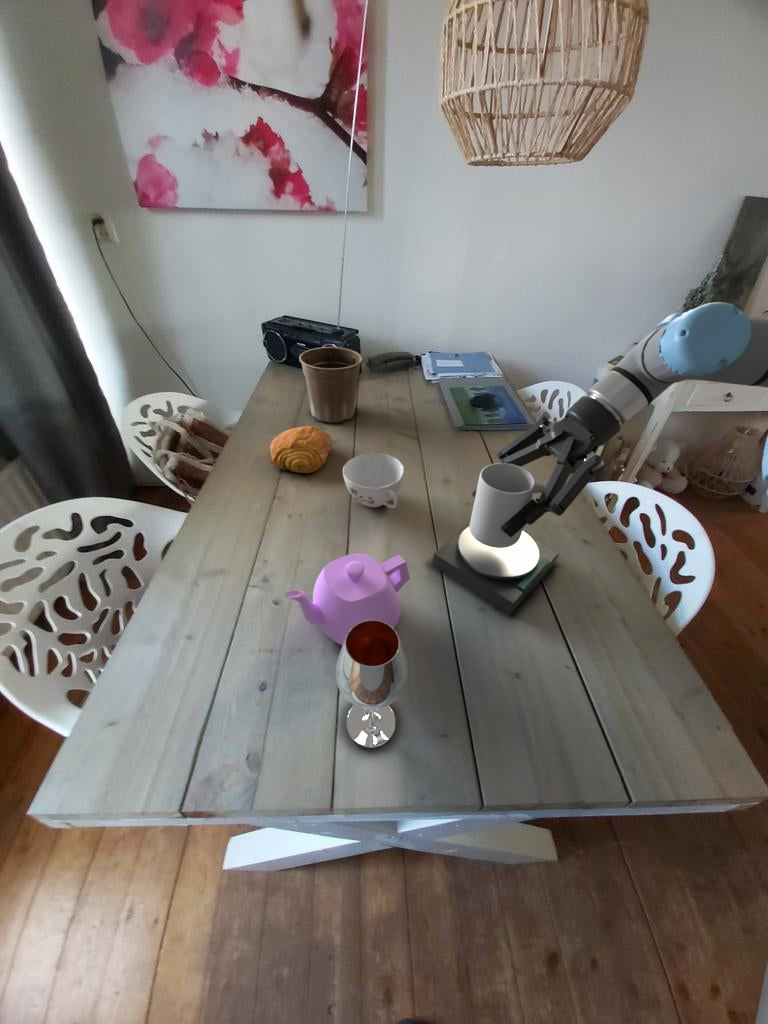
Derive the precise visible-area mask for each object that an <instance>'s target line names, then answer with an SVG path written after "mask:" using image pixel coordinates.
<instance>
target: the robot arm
mask: <svg viewBox="0 0 768 1024" xmlns="http://www.w3.org/2000/svg"><path fill="white" fill-rule="evenodd" d="M686 380H696V381H704V382H712V383H721V384H731V385H740V386H748V387H760V388H768V317H761V316H749V315H747V314H746V313H745V311H743V310H741V309H740V308H738V307H737V306H735V305H734V304H732V303H729V302H722V301H715V302H708V303H704V304H702V305H700V306H697V307H695V308H692V309H689V310H687V311H686V312H683V313H679V312H677V313H676V312H675V313H672V314H670V315H668V316H666V318H664V319H663V320H662V321H661V322H660V323H658V324H657V325H656V326H655V327H652V328H651V329H650V330H649V331H648V333H647V335H645V337H643V338H642V339H641V340H640V341H639V342H638V343H637V344H636V345H635V346H634V347H633V348H632V349H630V351H629V352H628V353H627V354H626V355H625V356H623V358H621V360H620V361H619V362H618V363H617V364H615V366H613V367H612V368H611V369H610V370H608V371H607V372H606V374H604V375H603V376H602V377H601V378H600V379H599V380H598V381H597V382H595V383H594V384H593V385H592V386H591V387H590V388H589V389H588V390H587V395H582V396H581V397H580V398H579V399H578V400H576V401H575V403H574V404H572V405H571V406H570V407H569V408H568V409H567V410H566V412H565V415H564V417H563V418H562V419H560V420H558V421H556V422H553V420H550V419H549V418H548V417H547V416H546V415H541V416H540V417H539V418H538V419H537V421H536V422H535V423H534V425H532V426H531V427H529V428H528V429H527V430H525V431H524V432H523V433H522V434H520V435H519V436H517V437H516V438H514V439H513V440H511V441H510V442H509V443H508V444H506V445H505V446H503V447H502V448H501V449H499V450H498V451H497V452H496V453H495V456H496V457H497V460H498V463H507V464H513V465H516V466H519V467H521V468H522V467H523V466H525V465H527V464H530V463H532V462H534V461H537V460H539V459H541V458H543V457H550V456H553V457H555V458H557V459H556V465H555V467H554V469H553V471H552V473H551V475H550V477H549V479H548V481H547V482H546V484H545V485H546V486H545V488H544V490H543V492H542V493H540V496H539V498H538V497H536V498H535V499H534V498H532V499H531V501H530V502H529V503H527V504H526V505H525V506H524V507H523V508H522V509H521V510H520V511H519V512H518V513H516V514H515V515H514V516H513V517H512V518H511V519H510V520H509V521H508V522H506V523H505V524H504V525H503V526H502V527H501V529H502V531H503V532H505V533H506V534H507V535H508V536H510V537H512V536H514V535H515V534H516V533H517V532H518V531H519V530H520V529H521V528H523V529H524V527H525V526H526V525H527V524H528V526H531V525H533V524H534V523H536V522H537V521H538V520H539V519H540V518H541V517H542V516H543V515H545V514H546V513H552V514H555V515H556V516H558V517H560V516H562V515H563V514H564V513H565V512H566V511H567V509H568V508H569V507H570V506H571V504H573V502H574V501H575V499H577V497H578V496H579V494H580V493H582V491H583V490H584V488H586V487H587V485H588V484H589V482H590V481H591V480H592V479H593V477H595V476H596V475H598V474H599V473H601V472H602V471H603V470H605V469H606V463H605V462H604V460H603V459H602V457H601V456H600V455H599V454H596V453H597V450H598V449H599V447H603V446H605V445H606V444H607V443H608V442H609V441H611V440H612V439H613V438H614V437H615V436H616V435H617V434H619V432H620V431H621V426H627V425H628V424H629V423H630V422H631V421H633V420H634V419H635V418H636V417H637V416H638V415H639V414H640V413H641V412H643V411H644V410H645V409H646V408H647V407H648V406H649V405H650V404H652V402H653V401H654V400H656V399H657V398H658V397H659V396H660V395H661V394H663V393H664V392H665V391H666V390H668V389H669V388H670V387H671V386H672V385H674V384H676V383H681V382H684V381H686ZM580 461H583V463H582V464H581V465H579V467H578V468H577V469H576V467H577V465H578V463H579V462H580ZM575 469H576V471H575ZM574 471H575V472H574ZM573 472H574V473H573ZM571 473H572V475H571ZM761 474H762V480H763V482H764V484H765V485H767V486H768V435H767V437H766V441H765V444H764V448H763V454H762V461H761ZM570 475H571V477H570V478H569V476H570ZM476 491H477V488H476V489H475V490H473V492H472V493H471V495H472V496H473V497H474V498H475V496H476ZM766 495H767V496H768V488H767V490H766ZM763 977H764V978H763V983H762V988H761V993H760V998H759V1003H758V1007H757V1013H756V1018H755V1024H768V960H767V962H766V967H765V973H764V976H763Z"/></svg>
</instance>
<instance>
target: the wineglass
mask: <svg viewBox="0 0 768 1024" xmlns="http://www.w3.org/2000/svg"><path fill="white" fill-rule="evenodd" d="M334 672H335V682H336V684H337V687H338V690H339V691H340V693H341V695H342V696H343V697H344V698H345V700H346V701H347V702H349V703H350V704H352V707H351V709H350V710H349V711H348V714H347V717H346V729H347V732H348V734H349V737H350V738H351V740H353V741H354V742H355V743H356V744H357V745H359V746H360V747H363V748H369V749H373V748H375V749H376V748H378V747H381V746H383V745H385V744H386V743H388V742H389V741H390V739H391V738H392V737H393V735H394V732H395V729H396V725H397V724H396V723H397V722H396V716H395V713H394V711H393V709H392V708H391V707H390V705H392V704H393V703H395V702H396V701H397V700H398V699H399V698H400V697H401V695H402V694H403V692H404V690H405V688H406V686H407V683H408V679H409V664H408V659H407V656H406V653H405V650H404V647H403V645H402V641H401V639H400V637H399V635H398V633H397V631H396V630H395V628H392V627H391V626H390V625H389V624H387V623H385V622H382V621H378V620H366V621H363V622H360V623H358V624H356V625H355V626H354V627H352V628H351V629H350V631H349V632H348V634H347V636H346V638H345V641H344V643H343V645H341V648H340V651H339V653H338V656H337V659H336V663H335V671H334Z"/></svg>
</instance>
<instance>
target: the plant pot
mask: <svg viewBox="0 0 768 1024" xmlns="http://www.w3.org/2000/svg"><path fill="white" fill-rule="evenodd" d="M298 358H299V363H301V366H302V373H303V375H304V377H305V383H306V389H307V395H308V401H309V408H310V414H311V416H312V418H315V419H316V420H317V421H319V422H323V423H327V424H328V423H330V424H334V423H335V424H337V423H342V422H344V421H345V420H347V421H348V420H350V419H352V418H353V416H354V415H355V410H356V409H355V407H356V396H357V386H358V378H359V377H358V376H359V374H360V369H361V363H362V362H363V356H362V354H361V353H359V352H358V351H356V350H353V349H350V348H345V347H337V346H323V347H322V346H321V347H316V348H311V349H308V350H306V351H304V352H302V353H301V354H300V355H299V357H298Z"/></svg>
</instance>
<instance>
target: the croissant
mask: <svg viewBox="0 0 768 1024" xmlns="http://www.w3.org/2000/svg"><path fill="white" fill-rule="evenodd" d="M331 438H332V437H331V436H330V434H329V433H328V432H326V431H324V430H323V429H320V428H318V427H316V426H313V425H305V426H299V427H293V428H290V429H287V430H284V431H283V432H281V433H279V434H278V435H277V436H275V437H274V438H273V439H272V440H271V442H270V446H269V450H270V452H269V453H270V455H271V456H270V457H271V461H272V463H274V465H275V466H276V467H277V468H278V469H282V470H283V471H288V470H289V471H291V472H294V473H301V474H310V473H314V472H316V471H318V470H319V469H320V468H321V467H322V466H323V465H324V464H325V463H326V460H327V458H328V456H329V453H330V452H331V450H332V439H331Z"/></svg>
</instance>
